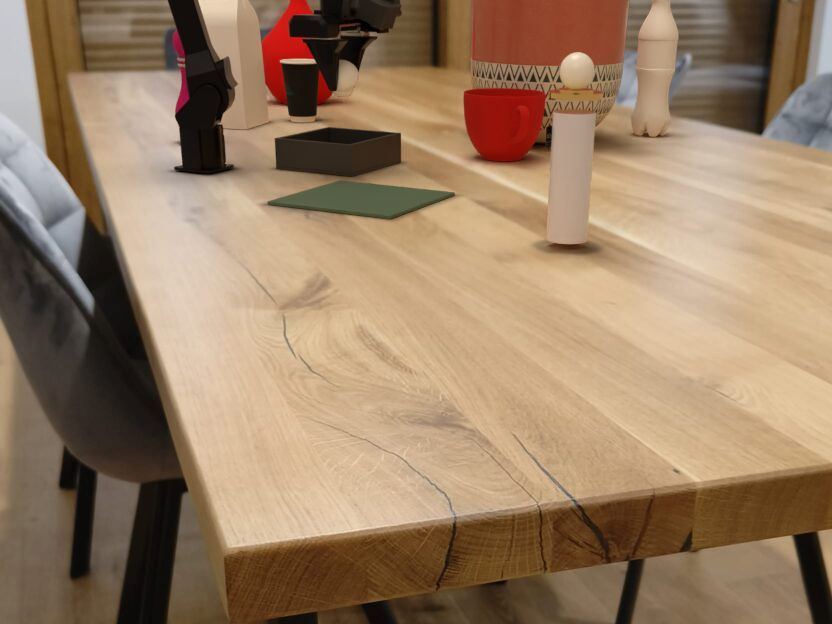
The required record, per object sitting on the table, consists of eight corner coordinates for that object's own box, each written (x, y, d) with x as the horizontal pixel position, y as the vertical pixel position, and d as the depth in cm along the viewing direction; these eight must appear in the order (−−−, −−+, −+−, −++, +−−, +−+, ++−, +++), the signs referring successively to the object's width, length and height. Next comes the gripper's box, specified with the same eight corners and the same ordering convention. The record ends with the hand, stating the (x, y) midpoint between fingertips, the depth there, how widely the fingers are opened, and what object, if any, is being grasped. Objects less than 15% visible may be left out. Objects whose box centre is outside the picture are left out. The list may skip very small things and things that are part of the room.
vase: (246, 105, 240) (237, -50, 227) (281, 96, 256) (274, -49, 242) (325, 109, 235) (320, -49, 222) (356, 100, 251) (353, -48, 238)
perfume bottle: (602, 246, 124) (616, 52, 115) (573, 255, 120) (586, 55, 111) (559, 238, 127) (570, 49, 118) (530, 246, 123) (539, 51, 114)
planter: (510, 127, 213) (516, -30, 201) (641, 138, 201) (655, -27, 189) (439, 143, 192) (441, -30, 181) (580, 157, 180) (592, -27, 168)
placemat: (390, 219, 135) (390, 215, 135) (267, 204, 142) (267, 201, 142) (454, 195, 150) (455, 192, 150) (340, 183, 157) (340, 180, 157)
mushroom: (365, 97, 161) (364, 60, 158) (335, 99, 158) (334, 61, 156) (349, 94, 164) (348, 58, 162) (319, 95, 162) (318, 59, 160)
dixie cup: (330, 119, 220) (328, 59, 215) (310, 124, 213) (308, 62, 208) (295, 117, 222) (292, 58, 218) (274, 121, 216) (271, 60, 211)
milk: (186, 126, 208) (173, -28, 196) (211, 119, 218) (201, -28, 206) (246, 129, 205) (236, -27, 194) (269, 121, 215) (261, -27, 204)
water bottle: (624, 135, 204) (636, -15, 193) (636, 131, 210) (649, -15, 199) (661, 138, 201) (676, -14, 190) (673, 134, 207) (688, -14, 196)
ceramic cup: (483, 170, 168) (485, 100, 164) (452, 153, 183) (453, 88, 178) (563, 167, 171) (567, 98, 167) (526, 151, 186) (529, 87, 181)
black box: (351, 176, 162) (350, 145, 160) (276, 168, 167) (274, 138, 165) (401, 162, 174) (401, 132, 172) (329, 155, 179) (328, 126, 177)
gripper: (356, -30, 143) (359, 99, 150) (421, -30, 158) (420, 87, 165) (283, -31, 148) (289, 94, 154) (353, -31, 163) (355, 83, 170)
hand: (341, 89), depth 161 cm, fingers closed on mushroom, 5 cm apart
